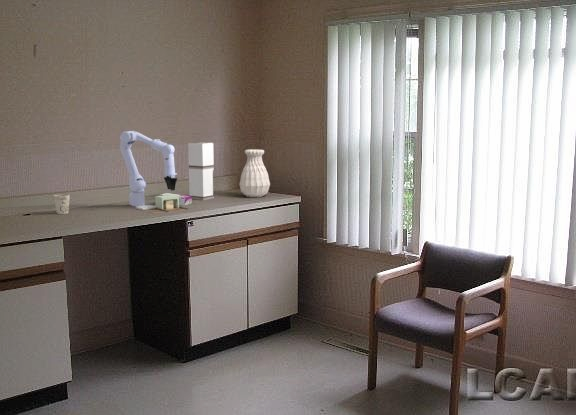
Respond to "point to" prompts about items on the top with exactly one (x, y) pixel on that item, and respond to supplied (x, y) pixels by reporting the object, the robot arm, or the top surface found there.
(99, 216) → the top surface
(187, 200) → the candy bar box
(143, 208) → the tray
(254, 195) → the vase
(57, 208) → the mug
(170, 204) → the block
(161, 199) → the hood
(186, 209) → the puzzle board
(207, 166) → the white two-part pillar
